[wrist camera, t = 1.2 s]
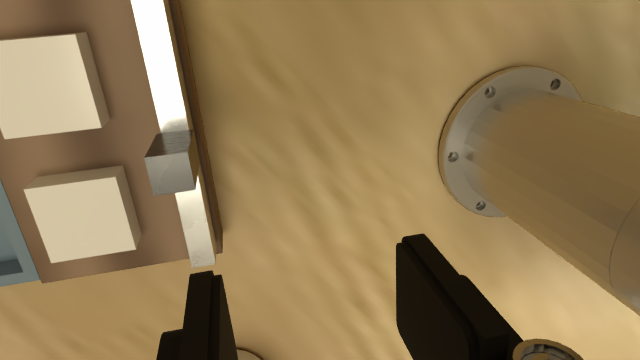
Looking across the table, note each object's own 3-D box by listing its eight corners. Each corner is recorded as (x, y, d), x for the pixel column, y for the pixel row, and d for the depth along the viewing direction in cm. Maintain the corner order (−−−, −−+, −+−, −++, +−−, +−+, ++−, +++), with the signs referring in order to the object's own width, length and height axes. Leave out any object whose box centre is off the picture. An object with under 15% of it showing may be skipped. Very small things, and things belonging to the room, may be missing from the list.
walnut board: (175, -22, 27) (169, -25, 24) (222, 232, 34) (222, 252, 31) (-41, -6, 25) (-74, -8, 22) (57, 259, 32) (42, 283, 29)
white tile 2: (122, 165, 27) (115, 176, 25) (141, 234, 29) (135, 249, 27) (37, 176, 26) (23, 189, 25) (62, 246, 28) (51, 263, 27)
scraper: (172, -5, 24) (154, -7, 18) (219, 243, 30) (218, 303, 24) (134, -2, 24) (103, -3, 18) (190, 248, 30) (182, 310, 24)
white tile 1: (86, 31, 24) (75, 34, 22) (110, 118, 26) (101, 127, 24) (-12, 40, 23) (-32, 43, 22) (20, 129, 25) (4, 139, 23)
